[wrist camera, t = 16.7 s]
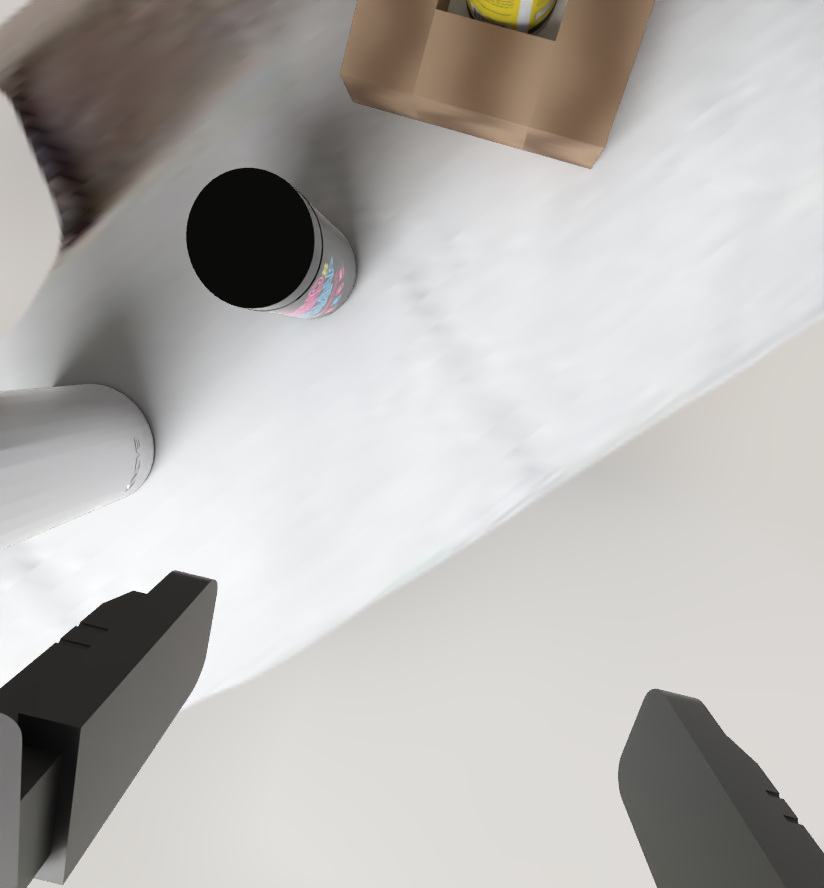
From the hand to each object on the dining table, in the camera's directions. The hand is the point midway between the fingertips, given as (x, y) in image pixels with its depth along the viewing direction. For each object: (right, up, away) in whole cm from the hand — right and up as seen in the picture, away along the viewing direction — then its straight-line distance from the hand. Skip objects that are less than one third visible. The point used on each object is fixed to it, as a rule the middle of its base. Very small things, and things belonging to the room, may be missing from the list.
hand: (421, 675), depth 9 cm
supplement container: (-7, +16, +27) cm, 32 cm away
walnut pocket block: (+6, +32, +23) cm, 39 cm away
